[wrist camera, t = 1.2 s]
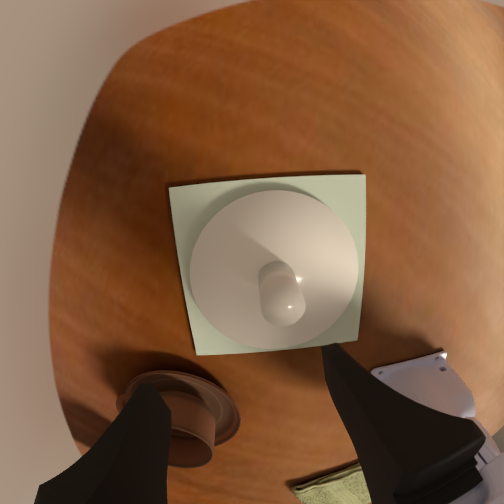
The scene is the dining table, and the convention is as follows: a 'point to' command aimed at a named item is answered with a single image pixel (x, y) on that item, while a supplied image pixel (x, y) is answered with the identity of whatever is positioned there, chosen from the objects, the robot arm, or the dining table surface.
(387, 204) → the dining table surface
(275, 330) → the lid
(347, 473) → the washcloth
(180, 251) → the plate
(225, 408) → the cup and saucer
